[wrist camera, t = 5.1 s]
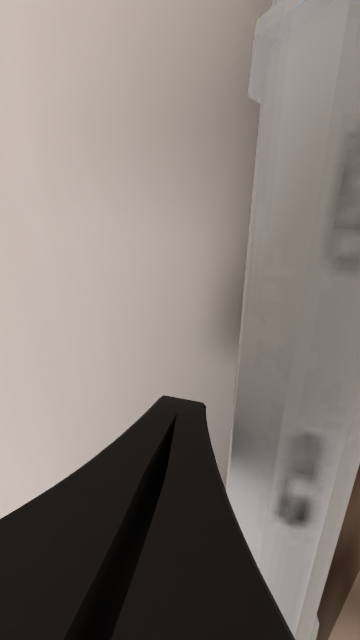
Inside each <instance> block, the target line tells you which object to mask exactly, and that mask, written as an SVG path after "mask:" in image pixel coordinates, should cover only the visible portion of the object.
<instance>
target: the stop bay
mask: <svg viewBox="0 0 360 640" xmlns="http://www.w3.org/2000/svg"><path fill="white" fill-rule="evenodd" d="M317 617H318V621H319V629H318V633H317V638H316V640H360V464H359V468H358V471H357V475H356V478H355V482H354V485H353V489H352V492H351V496H350V499H349V503H348V506H347V510H346V513H345V517H344V520H343V524H342V527H341V531H340V534H339V538H338V541H337V545H336V548H335V552H334V555H333V559H332V562H331V565H330V569H329V572H328V576H327V579H326V583H325V586H324V590H323V593H322V597H321V600H320V604H319V607H318V611H317Z"/></svg>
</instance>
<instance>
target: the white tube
mask: <svg viewBox="0 0 360 640" xmlns="http://www.w3.org/2000/svg"><path fill="white" fill-rule="evenodd" d="M248 97H250V98H251V99H253V100H254V101H256V102H258V103H259V104H260V114H259V125H258V136H257V148H256V159H255V170H254V181H253V192H252V203H251V214H250V226H249V237H248V248H247V259H246V270H245V281H244V292H243V304H242V315H241V326H240V337H239V348H238V359H237V371H236V382H235V393H234V404H233V415H232V426H231V437H230V449H229V460H228V471H227V482H226V493H227V496H228V499H229V501H230V504H231V506H232V509H233V511H234V514H235V516H236V519H237V521H238V523H239V526H240V528H241V531H242V533H243V535H244V538H245V540H246V542H247V544H248V546H249V548H250V551H251V553H252V555H253V557H254V559H255V561H256V564H257V566H258V568H259V570H260V572H261V574H262V576H263V578H264V580H265V582H266V584H267V586H268V588H269V590H270V592H271V594H272V595H273V597H274V599H275V601H276V603H277V605H278V607H279V609H280V611H281V613H282V615H283V617H284V619H285V621H286V623H287V625H288V627H289V629H290V630H291V632H292V634H293V636H294V638H295V640H316V638H317V633H318V629H319V621H318V617H317V611H318V607H319V604H320V600H321V597H322V593H323V590H324V586H325V583H326V579H327V576H328V572H329V569H330V565H331V562H332V559H333V555H334V552H335V548H336V545H337V541H338V538H339V534H340V531H341V527H342V524H343V520H344V517H345V513H346V510H347V506H348V503H349V499H350V496H351V492H352V489H353V485H354V482H355V478H356V475H357V471H358V468H359V464H360V0H272V5H271V8H270V9H269V10H268V11H267V12H265V13H264V14H263V15H262V16H261V17H259V18H258V19H257V20H256V24H255V33H254V42H253V52H252V61H251V70H250V79H249V88H248Z"/></svg>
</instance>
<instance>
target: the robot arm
mask: <svg viewBox="0 0 360 640" xmlns="http://www.w3.org/2000/svg"><path fill="white" fill-rule="evenodd" d="M0 640H295V638H294V636H293V634H292V632H291V630H290V629H289V627H288V625H287V623H286V621H285V619H284V617H283V615H282V613H281V611H280V609H279V607H278V605H277V603H276V601H275V599H274V597H273V595H272V594H271V592H270V590H269V588H268V586H267V584H266V582H265V580H264V578H263V576H262V574H261V572H260V570H259V568H258V566H257V564H256V561H255V559H254V557H253V555H252V553H251V551H250V548H249V546H248V544H247V542H246V540H245V538H244V535H243V533H242V531H241V528H240V526H239V523H238V521H237V519H236V516H235V514H234V511H233V509H232V506H231V504H230V501H229V499H228V496H227V493H226V490H225V488H224V485H223V482H222V479H221V476H220V473H219V470H218V467H217V463H216V460H215V456H214V453H213V449H212V445H211V441H210V437H209V432H208V427H207V421H206V406H205V405H204V404H203V403H202V402H196V401H191V400H186V399H180V398H175V397H169V396H162V397H160V398H159V399H158V400H157V401H156V403H155V404H154V405H153V406H152V407H151V408H150V409H149V410H148V411H147V412H146V413H145V414H144V415H143V416H142V417H141V418H140V419H138V420H137V421H136V422H135V423H134V424H133V425H132V426H131V427H130V428H129V429H128V430H126V431H125V432H124V433H123V434H122V435H121V436H120V437H119V438H117V439H116V440H115V441H114V442H113V443H111V444H110V445H109V446H108V447H106V448H105V449H104V450H103V451H101V452H100V453H99V454H98V455H96V456H95V457H94V458H93V459H91V460H90V461H89V462H87V463H86V464H85V465H83V466H82V467H81V468H79V469H78V470H77V471H75V472H74V473H72V474H71V475H70V476H68V477H67V478H65V479H64V480H62V481H61V482H59V483H58V484H56V485H55V486H53V487H52V488H50V489H49V490H47V491H46V492H44V493H42V494H41V495H39V496H38V497H36V498H34V499H33V500H31V501H30V502H28V503H26V504H25V505H23V506H22V507H20V508H18V509H17V510H15V511H13V512H12V513H10V514H8V515H6V516H5V517H3V518H1V519H0Z"/></svg>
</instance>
